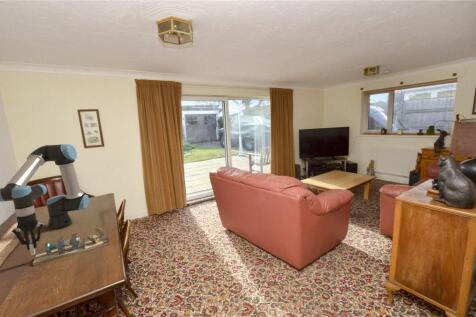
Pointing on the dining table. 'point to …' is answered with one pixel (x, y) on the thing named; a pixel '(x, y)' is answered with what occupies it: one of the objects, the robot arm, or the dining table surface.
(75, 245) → the grey angular blocks
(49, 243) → the shaft
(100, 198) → the dining table surface
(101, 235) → the bone
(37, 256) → the board
